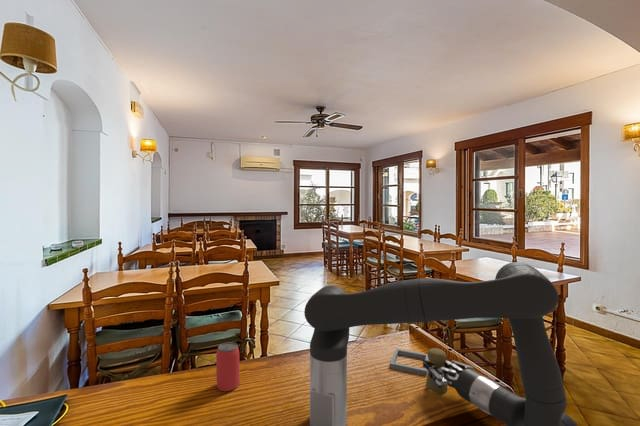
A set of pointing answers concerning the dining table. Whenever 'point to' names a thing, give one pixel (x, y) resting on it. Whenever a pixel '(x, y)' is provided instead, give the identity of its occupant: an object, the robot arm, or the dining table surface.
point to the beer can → (227, 366)
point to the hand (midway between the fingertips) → (429, 361)
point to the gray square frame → (406, 367)
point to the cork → (437, 359)
